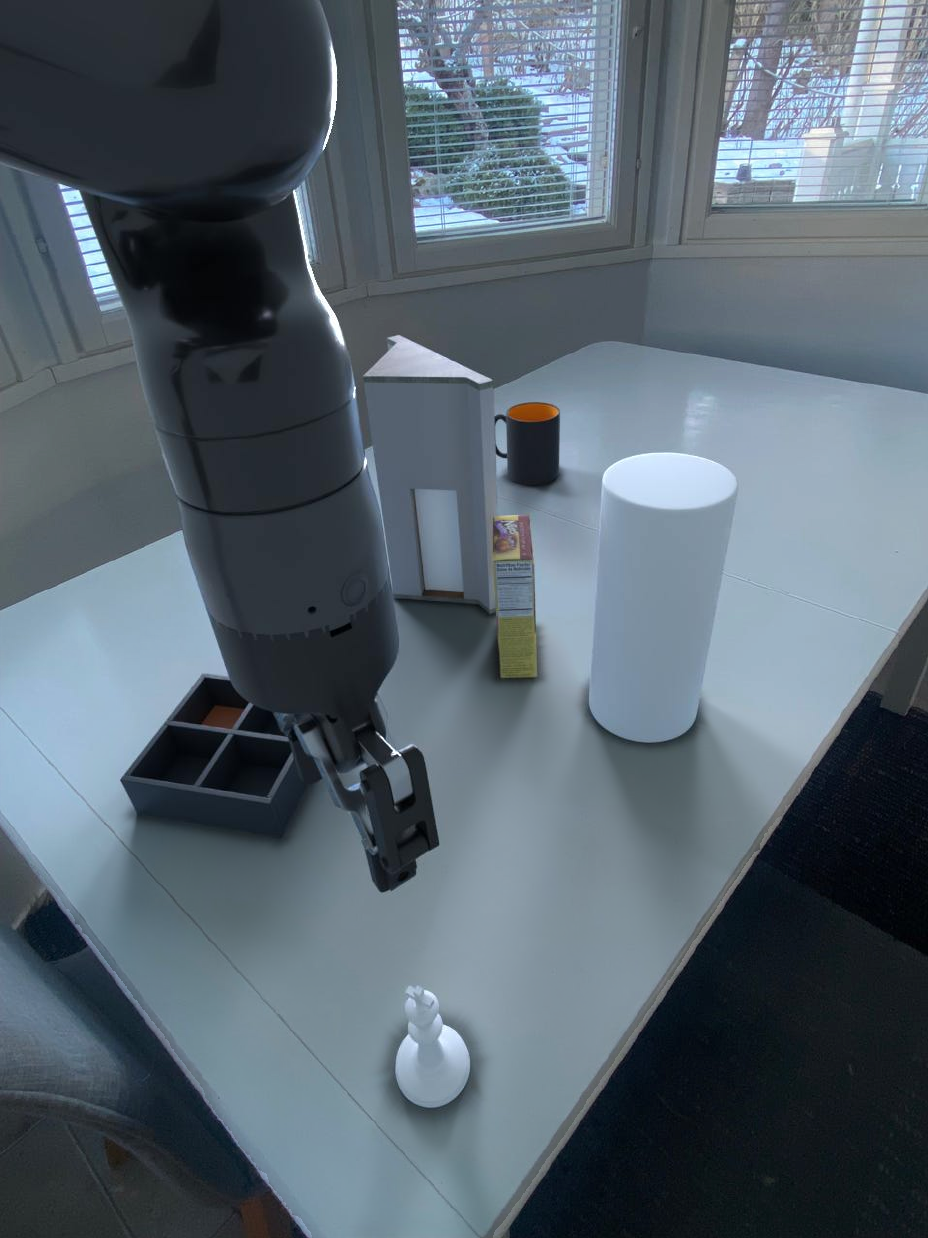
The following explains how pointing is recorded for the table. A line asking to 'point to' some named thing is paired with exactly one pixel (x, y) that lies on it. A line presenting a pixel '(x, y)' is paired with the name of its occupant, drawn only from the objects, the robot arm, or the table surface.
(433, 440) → the cabinet
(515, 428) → the mug
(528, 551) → the candy box
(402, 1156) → the table surface
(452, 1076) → the chess piece
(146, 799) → the tray
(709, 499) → the tall pillar cylinder
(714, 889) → the table surface
